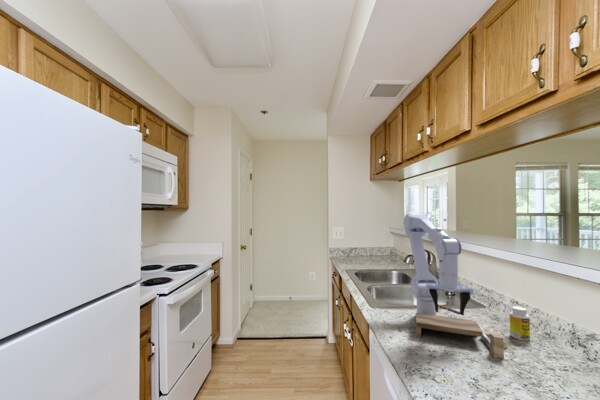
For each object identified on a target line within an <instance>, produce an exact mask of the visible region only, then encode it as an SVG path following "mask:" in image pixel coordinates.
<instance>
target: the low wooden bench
mask: <svg viewBox="0 0 600 400" xmlns="http://www.w3.org/2000/svg"><path fill="white" fill-rule="evenodd" d="M422 329H424V330H430V331H436V332H437V331H438V332H443V333H450V334H455V335H456V334H457V335H462V336H471V337H480V338H481V337H483V333H484V331H482V329H481V326H480V325H479V324H478V322H477V321H476V320H472V319H471V320H470V319H465V318H457V317H449V316H441V315H436V316H435V315H428V314H420V313H417V312H415V330H416V331H415V335H416V338H419V339H420V338H422Z"/></svg>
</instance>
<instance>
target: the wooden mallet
mask: <svg viewBox="0 0 600 400" xmlns="http://www.w3.org/2000/svg"><path fill="white" fill-rule="evenodd" d="M480 339H481V340H482V342H483V343H484V344H485V345H486V346H487V347H488V349H490V353H491V355H492V356H493V357H494V358H502V359H505V349H504V343H503V342H504V337H503V336H502V335H501V334H500V333H495V332H490V333H488V332H483V337H481V336H480Z"/></svg>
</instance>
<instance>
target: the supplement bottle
mask: <svg viewBox="0 0 600 400" xmlns="http://www.w3.org/2000/svg"><path fill="white" fill-rule="evenodd" d="M527 313H528V312H527V309H526V308H524V307H522V306H512V308H511V311H510V312H509V335H510V336H511V337H512V338H513V339H516V340H520V341H529V340H530V339H531V327H530V326H531V324H530V323H531V322H530V321H531V320H530V315H529V314H527Z"/></svg>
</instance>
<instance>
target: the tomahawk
mask: <svg viewBox="0 0 600 400" xmlns="http://www.w3.org/2000/svg"><path fill="white" fill-rule="evenodd" d="M438 306H441V307H443V308H442V309H444V308H445V309H444V310H446V309H448V310H447V311H449V310H450V311H449V312H452V311H453V313H456V314H457V313H458V315H460V311H458V310H456V309H452V308H450V307H446V306H445V305H441V304H438ZM441 307H440V308H441Z"/></svg>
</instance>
